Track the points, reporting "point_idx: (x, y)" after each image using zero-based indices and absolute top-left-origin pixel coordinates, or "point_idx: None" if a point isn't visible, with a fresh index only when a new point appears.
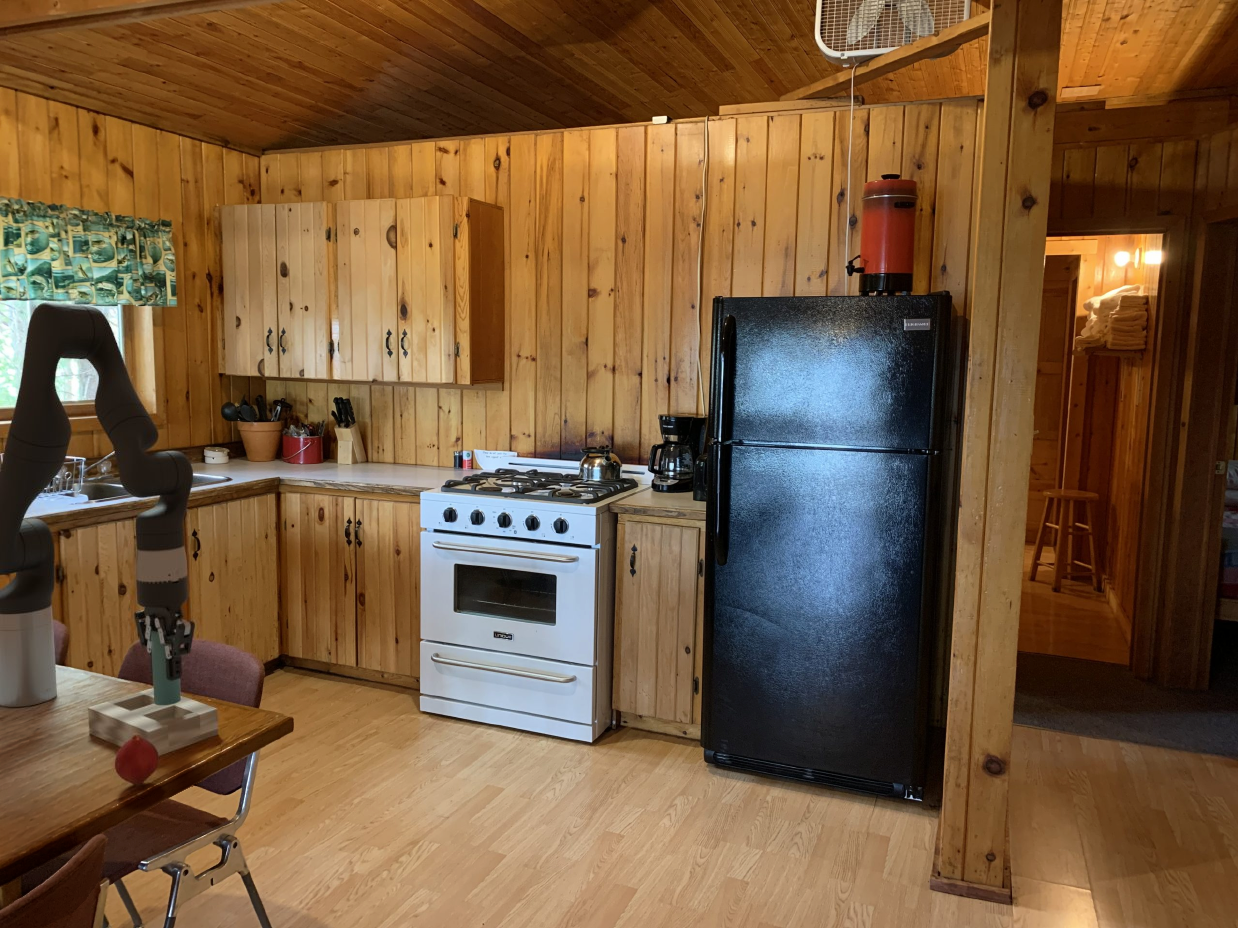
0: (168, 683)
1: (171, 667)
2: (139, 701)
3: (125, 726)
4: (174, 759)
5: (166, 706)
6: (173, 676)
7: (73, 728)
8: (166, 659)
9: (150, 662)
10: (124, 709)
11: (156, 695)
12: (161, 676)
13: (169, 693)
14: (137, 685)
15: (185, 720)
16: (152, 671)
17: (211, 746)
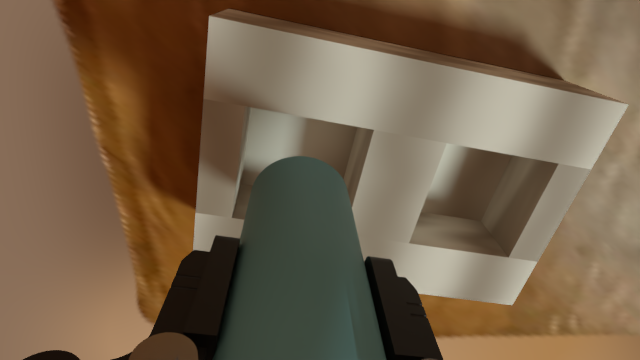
0: (245, 228)
1: (193, 294)
2: (505, 232)
3: (377, 49)
4: (159, 40)
5: (358, 216)
6: (189, 254)
7: (637, 87)
8: (208, 329)
9: (405, 304)
10: (479, 144)
11: (302, 173)
12: (267, 235)
13: (251, 202)
14: (633, 333)
15: (200, 162)
16: (380, 265)
17: (152, 154)
